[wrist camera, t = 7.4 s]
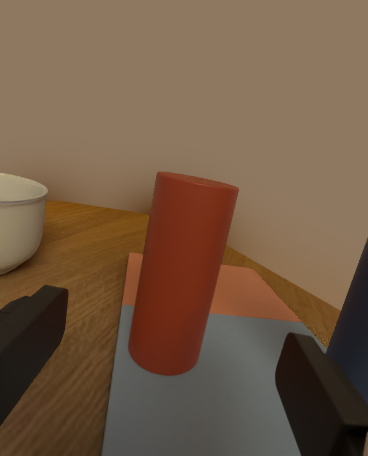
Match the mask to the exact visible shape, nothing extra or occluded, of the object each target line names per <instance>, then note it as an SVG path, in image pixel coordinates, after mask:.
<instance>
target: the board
mask: <svg viewBox="0 0 368 456" xmlns="http://www.w3.org/2000/svg"><path fill="white" fill-rule="evenodd" d="M142 259H143V254H138V253H131V252H129V257H128V264H127V271H126V278H125V286H124V293H123V300H122V307H121V315H120V322H119V329H118V336H117V344H116V351H115V358H114V365H113V373H112V380H111V387H110V394H109V401H108V409H107V416H106V423H105V430H104V438H103V445H102V452H101V456H301V454H300V452H299V449H298V446H297V443H296V441H295V438H294V435H293V432H292V430H291V427H290V424H289V421H288V419H287V416H286V413H285V410H284V408H283V405H282V402H281V399H280V397H279V394H278V391H277V388H276V384H275V370H276V366H277V363H278V360H279V357H280V354H281V351H282V347H283V344H284V341H285V338H286V336H287V334H288V333H289V332H293V333H298V334H303V335H309V336H312V337H313V338H314V339H315V341H316V342H317V344H318V345H319V347H320V348H321V350H322V351H323V353H326V351H327V348H326V347H325V346H324V345H323V344H322V343H321V342H320V341H319V340H318V339H317V338H316V337H315V335H314V334H313V333H312V332H311V331H310V330H309V329H308V328H307V327H306V326H305V325H304V324H303V323H302V322H301V320H300V319H299V318H298V317H297V316H296V315H295V314H294V313H293V312H292V311H291V310H290V309H289V307H288V306H287V305H286V304H285V303H284V302H283V301H282V300H281V299H280V298H279V297H278V296H277V294H276V293H275V292H274V291H273V290H272V289H271V288H270V287H269V286H268V285H267V284H266V283H265V281H264V280H263V279H262V278H261V277H260V276H259V275H258V274H257V273H256V272H255V271H254V270H253V269H251V268H244V267H236V266H229V265H221V267H220V271H219V275H218V279H217V284H216V288H215V292H214V296H213V300H212V304H211V309H210V313H209V317H208V321H207V325H206V329H205V334H204V338H203V342H202V346H201V350H200V354H199V359H198V361H197V363H196V365H195V366H194V367H193V368H192V369H191V370H189V371H187V372H185V373H183V374H179V375H172V376H166V375H159V374H155V373H152V372H149V371H147V370H145V369H143V368H142V367H140V366H139V365H138V364H136V363H135V362H134V360H133V359H132V358H131V356H130V354H129V351H128V342H129V336H130V330H131V324H132V318H133V312H134V306H135V300H136V294H137V288H138V282H139V276H140V270H141V265H142Z"/></svg>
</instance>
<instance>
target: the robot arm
mask: <svg viewBox="0 0 368 456" xmlns="http://www.w3.org/2000/svg"><path fill="white" fill-rule="evenodd" d="M67 304H68V290H67V289H65V288H60V287H54V286H49V285H44V286H43V287H42V288H41V289H39V290H38V291H37V292H36V293H35V294H33V295H32V296H31V297H29V296H24V297H22V298H19V299H17V300H14V301H12V302H10V303H8V304H7V305H6V306H5V307H3V308H2V309H1V310H0V426H1V424H2V423H3V422H4V420H5V419H6V418H7V416H8V415H9V413H10V412H11V411H12V409H13V408H14V407H15V405H16V404H17V402H18V401H19V400H20V398H21V397H22V395H23V394H24V393H25V391H26V390H27V389H28V387H29V386H30V384H31V383H32V382H33V380H34V379H35V378H36V376H37V375H38V373H39V372H40V371H41V369H42V368H43V366H44V365H45V364H46V362H47V361H48V360H49V358H50V357H51V355H52V354H53V353H54V351H55V350H56V348H57V347H58V346H59V344H60V342H61V340H62V337H63V334H64V331H65V324H66V314H67ZM275 384H276V388H277V391H278V394H279V397H280V399H281V402H282V405H283V408H284V410H285V413H286V416H287V419H288V421H289V424H290V427H291V430H292V432H293V435H294V438H295V441H296V443H297V446H298V449H299V452H300V454H301V456H368V405H367V403H366V402H365V400H364V399H363V398H362V396H361V395H360V393H359V392H358V391H356V388H355V386H354V385H353V384H352V382H351V381H350V380H348V376H347V375H346V374H345V372H344V371H343V369H342V368H341V367H340V365H339V364H338V363H336V362H335V361H334V360H333V359H332V358H331V357H330V356H328V355H327V354H326V353H323V351H322V350H321V348H320V347H319V345H318V344H317V342H316V341H315V339H314V338H313V337H312V336H309V335H303V334H298V333H293V332H289V333H288V334H287V336H286V338H285V341H284V344H283V347H282V351H281V354H280V357H279V360H278V363H277V366H276V370H275Z"/></svg>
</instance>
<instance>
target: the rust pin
mask: <svg viewBox="0 0 368 456" xmlns="http://www.w3.org/2000/svg"><path fill="white" fill-rule="evenodd" d="M238 192H239V188H237V187H235V186H232V185H229V184H225V183H221V182H217V181H213V180H208V179H203V178H198V177H194V176H188V175H183V174H176V173H170V172H158V173H157V175H156V182H155V188H154V193H153V199H152V205H151V211H150V217H149V223H148V229H147V235H146V241H145V247H144V253H143V259H142V265H141V270H140V276H139V282H138V288H137V294H136V300H135V306H134V312H133V318H132V324H131V330H130V336H129V342H128V351H129V354H130V356H131V358H132V359H133V360H134V362H135V363H136V364H138V365H139V366H140V367H142V368H143V369H145V370H147V371H149V372H152V373H155V374H159V375H166V376H172V375H179V374H183V373H185V372H187V371H189V370H191V369H192V368H193V367H194V366H195V365H196V363H197V361H198V359H199V354H200V350H201V346H202V342H203V338H204V334H205V329H206V325H207V321H208V317H209V313H210V309H211V304H212V300H213V296H214V292H215V288H216V284H217V279H218V275H219V271H220V267H221V263H222V259H223V254H224V250H225V246H226V242H227V238H228V233H229V229H230V225H231V221H232V217H233V212H234V208H235V204H236V200H237V196H238Z"/></svg>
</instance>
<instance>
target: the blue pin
mask: <svg viewBox="0 0 368 456" xmlns="http://www.w3.org/2000/svg"><path fill="white" fill-rule="evenodd" d="M326 354H327V355H328V356H330V357H331V358H332V359H333V360H334V361H335V362H336V363H338V364H339V365H340V367H341V368H342V369H343V371H344V372H345V374H346V375H347V376H348V380H350V381H351V382H352V384H353V385H354V386H355V388H356V391H358V392H359V393H360V395H361V396H362V398H363V399H364V400H365V402H366V403H367V405H368V239H367V241H366V244H365V247H364V250H363V252H362V255H361V258H360V260H359V263H358V266H357V269H356V272H355V274H354V277H353V280H352V282H351V285H350V288H349V291H348V293H347V296H346V299H345V302H344V304H343V307H342V310H341V313H340V315H339V318H338V321H337V324H336V326H335V329H334V332H333V335H332V337H331V340H330V343H329V346H328V348H327V351H326Z"/></svg>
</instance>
